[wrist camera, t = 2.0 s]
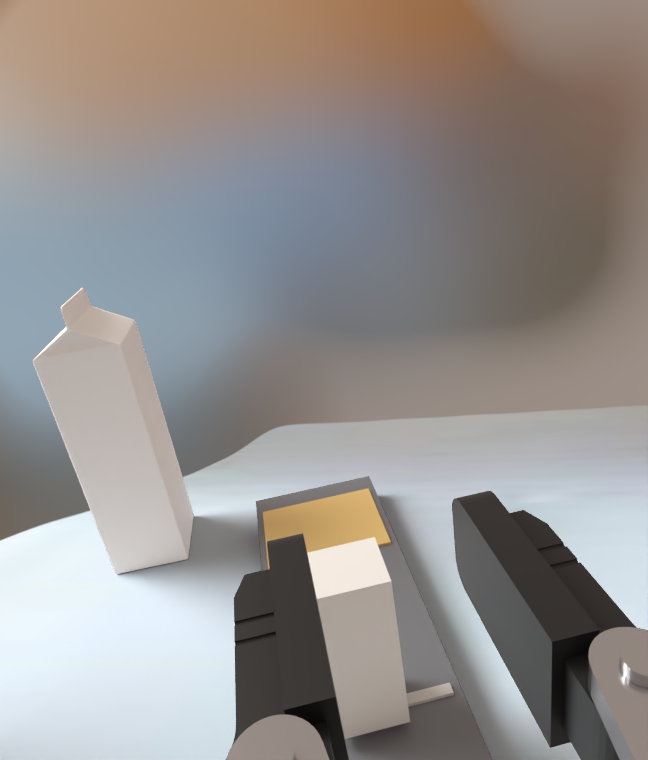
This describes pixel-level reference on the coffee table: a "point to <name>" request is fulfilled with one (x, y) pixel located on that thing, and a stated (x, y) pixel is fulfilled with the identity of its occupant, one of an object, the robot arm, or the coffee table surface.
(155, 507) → the milk
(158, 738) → the coffee table surface
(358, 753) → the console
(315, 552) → the block
